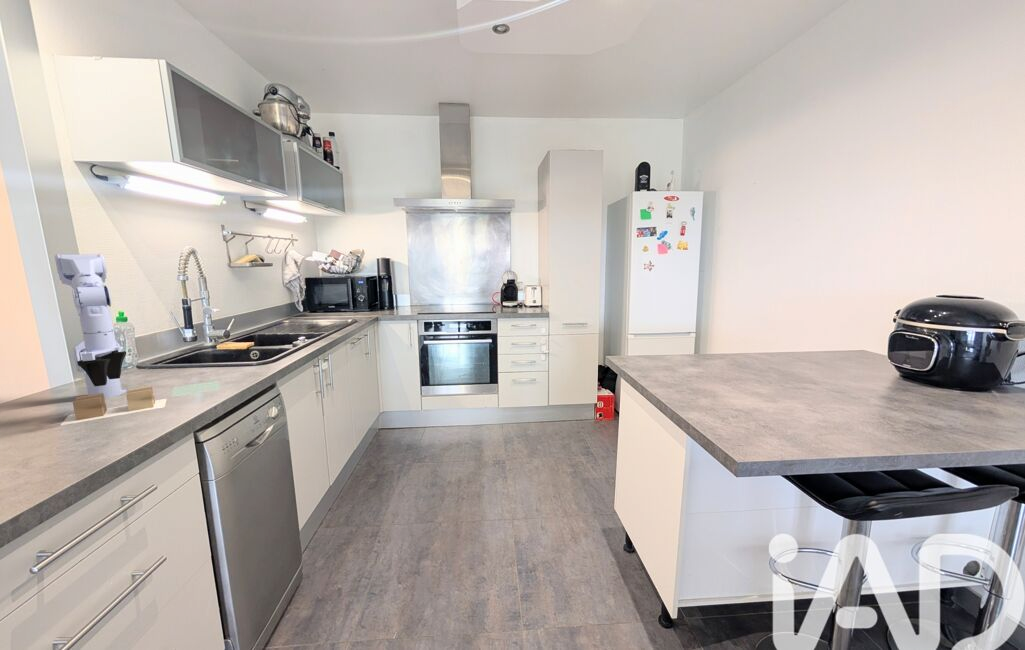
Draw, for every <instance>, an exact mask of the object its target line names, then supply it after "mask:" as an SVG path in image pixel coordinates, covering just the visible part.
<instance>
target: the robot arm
mask: <svg viewBox="0 0 1025 650" xmlns="http://www.w3.org/2000/svg"><path fill="white" fill-rule="evenodd" d="M54 261H55V266H56V270H57V275H58V277H59V281H60V282H61V284H62V285H66V286H69V287H71V288H72V291H71V292H72V298H73V303H74V307H75V309H76V311H77V315H78V317H79V322H80V327H81V333H82V338H83V340H81V341H80V342H79V343H78V344H75V345H74V348H73V357H74V362H75V368H76V372H79V373H83V376H84V381H85V387H86V390H87V396H88V395H94V394H101V393H104V397H105V399H109V398H113V397H117V396H120V395H121V394H126V393H127V388H126V389H122V383H121V374H122V367H123V364H124V359H125V358H126V356H127V351H125V350H123V349H124V347H123V345H122V346H121V345H120V343H118V342H117V341H116V336H115V335H116V333H115V329H114V325H113V318H112V313H111V306H112V297H111V291H110V289H109V287H108V285H107V284H106V285H104V284H105V283H106V279H107V263H106V260H105V256H104V255H102V254H101V253H98V254H65V253H64V254H60V253H56V254H55V255H54ZM122 350H123V351H122Z"/></svg>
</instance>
